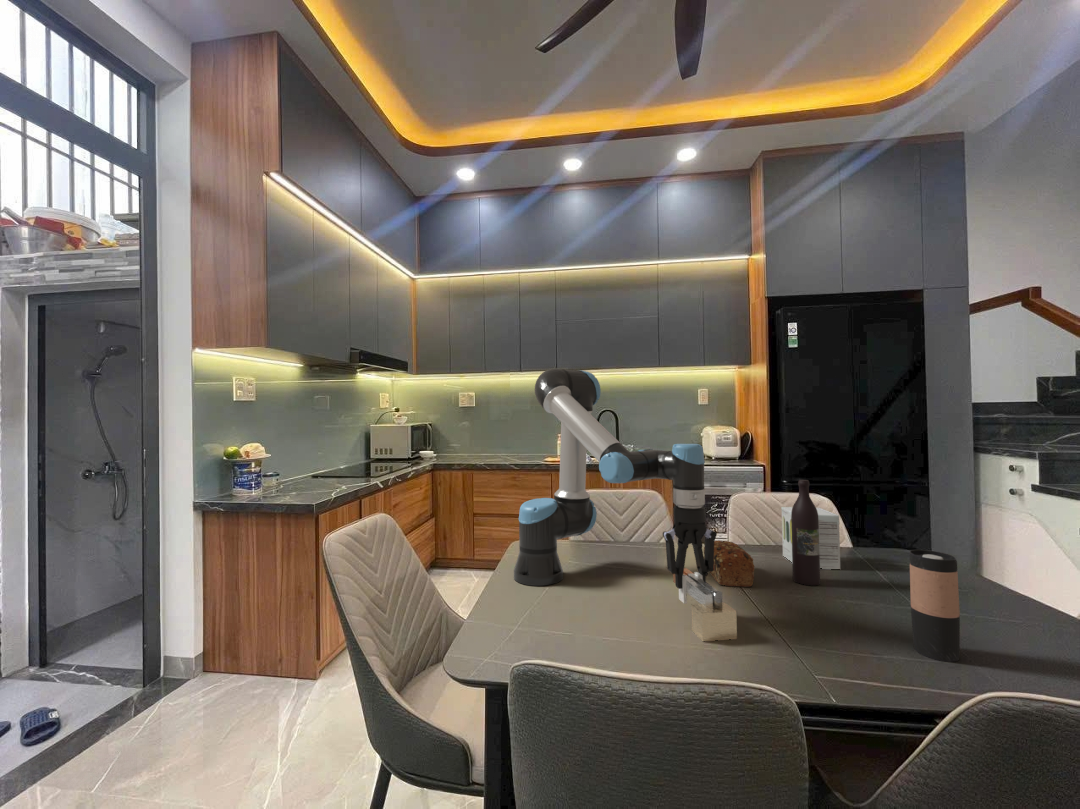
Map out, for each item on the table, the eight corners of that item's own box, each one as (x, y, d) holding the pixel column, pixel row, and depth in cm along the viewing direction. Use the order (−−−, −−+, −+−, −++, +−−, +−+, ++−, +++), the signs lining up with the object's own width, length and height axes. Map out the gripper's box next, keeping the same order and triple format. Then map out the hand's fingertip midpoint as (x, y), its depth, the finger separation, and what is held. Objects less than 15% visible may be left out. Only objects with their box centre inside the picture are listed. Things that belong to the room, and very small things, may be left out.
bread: (755, 588, 130) (754, 553, 130) (716, 587, 131) (716, 552, 132) (736, 567, 148) (735, 536, 149) (702, 566, 150) (702, 535, 150)
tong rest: (665, 605, 118) (665, 570, 118) (694, 603, 119) (694, 568, 119) (702, 641, 99) (701, 599, 99) (736, 639, 100) (736, 597, 100)
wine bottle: (794, 584, 132) (791, 481, 133) (791, 576, 139) (788, 478, 140) (822, 587, 130) (819, 482, 131) (817, 579, 136) (815, 479, 137)
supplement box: (781, 556, 159) (780, 506, 160) (821, 557, 158) (820, 507, 158) (797, 568, 146) (796, 514, 147) (841, 570, 145) (840, 515, 145)
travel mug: (902, 644, 97) (899, 550, 97) (935, 643, 97) (932, 548, 98) (936, 663, 89) (932, 561, 90) (972, 661, 90) (968, 559, 90)
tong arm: (679, 580, 119) (679, 568, 119) (687, 580, 119) (686, 567, 119) (715, 608, 101) (715, 594, 101) (724, 608, 101) (723, 593, 101)
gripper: (663, 509, 109) (665, 608, 108) (728, 507, 111) (730, 604, 110) (651, 503, 116) (653, 596, 115) (712, 502, 118) (714, 593, 117)
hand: (690, 600), depth 113 cm, fingers open, 4 cm apart
